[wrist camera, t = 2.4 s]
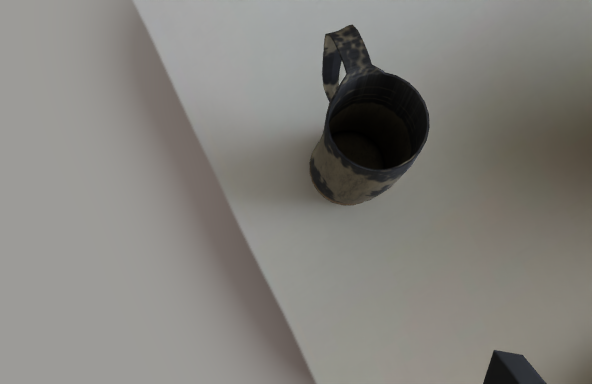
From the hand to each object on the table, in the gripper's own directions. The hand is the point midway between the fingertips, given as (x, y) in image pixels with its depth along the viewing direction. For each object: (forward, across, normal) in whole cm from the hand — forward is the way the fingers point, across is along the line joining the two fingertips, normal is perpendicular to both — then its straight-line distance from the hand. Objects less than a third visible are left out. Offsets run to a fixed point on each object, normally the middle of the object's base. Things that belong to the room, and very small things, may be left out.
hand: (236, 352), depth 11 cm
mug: (+22, +4, +3) cm, 23 cm away
